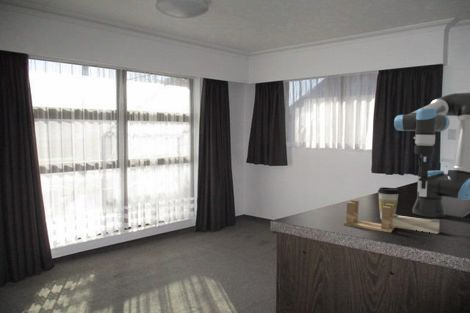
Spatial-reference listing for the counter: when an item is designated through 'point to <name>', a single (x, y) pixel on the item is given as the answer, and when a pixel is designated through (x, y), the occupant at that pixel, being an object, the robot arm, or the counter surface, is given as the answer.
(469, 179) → the robot arm
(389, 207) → the wooden stand
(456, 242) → the counter surface
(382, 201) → the coffee cup
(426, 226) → the rail
